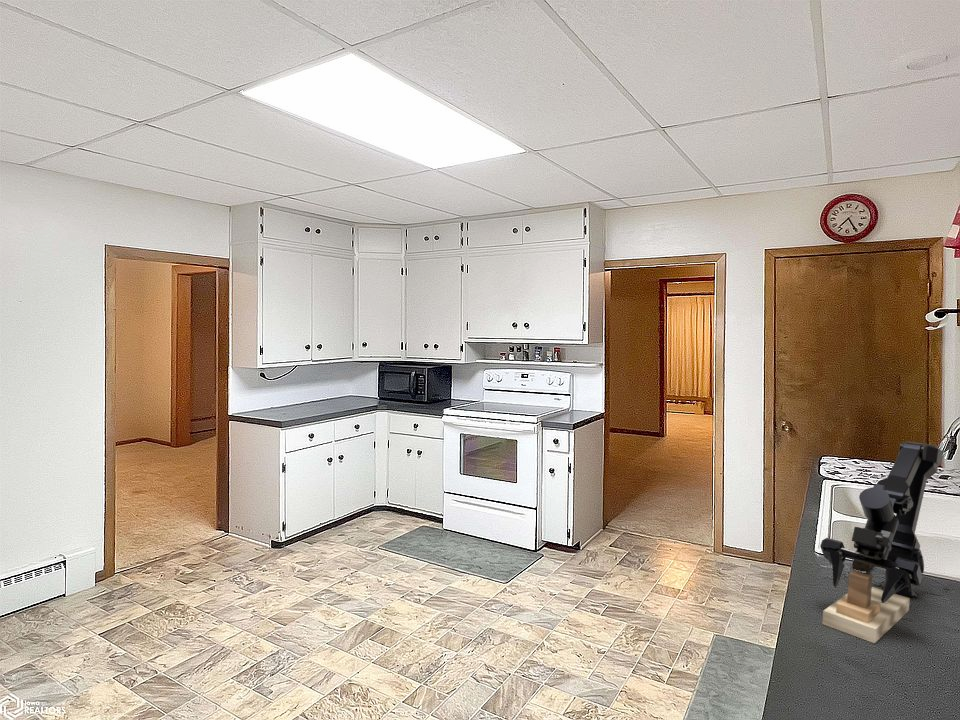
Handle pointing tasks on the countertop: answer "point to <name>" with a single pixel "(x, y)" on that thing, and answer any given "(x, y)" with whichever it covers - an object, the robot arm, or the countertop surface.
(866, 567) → the hand tool
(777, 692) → the countertop surface
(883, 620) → the board
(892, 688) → the countertop surface
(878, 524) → the robot arm
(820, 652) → the countertop surface
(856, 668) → the countertop surface
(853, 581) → the block
